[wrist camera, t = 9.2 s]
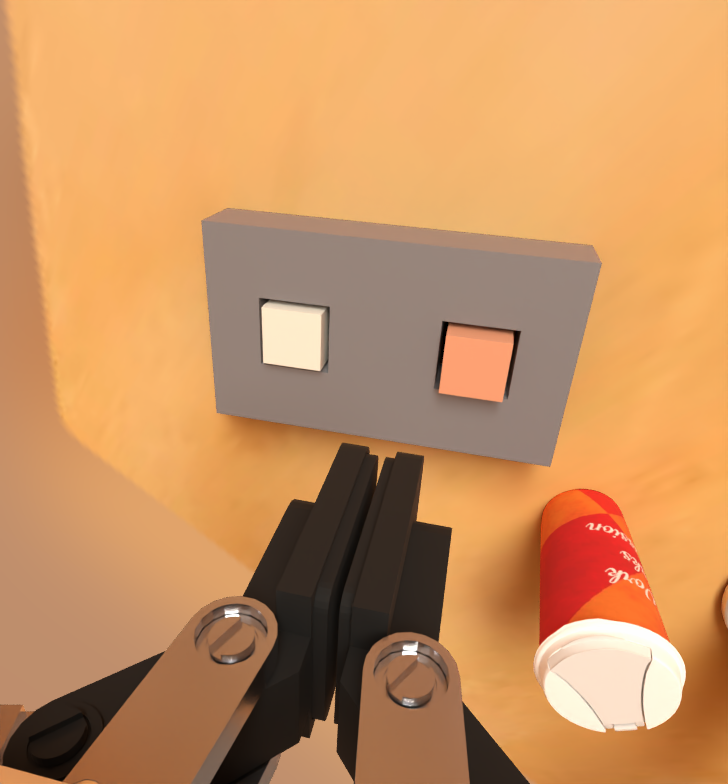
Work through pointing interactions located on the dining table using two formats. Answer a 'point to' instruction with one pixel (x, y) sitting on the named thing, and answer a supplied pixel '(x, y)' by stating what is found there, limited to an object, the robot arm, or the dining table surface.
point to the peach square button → (476, 361)
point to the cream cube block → (295, 334)
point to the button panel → (397, 328)
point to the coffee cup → (601, 621)
